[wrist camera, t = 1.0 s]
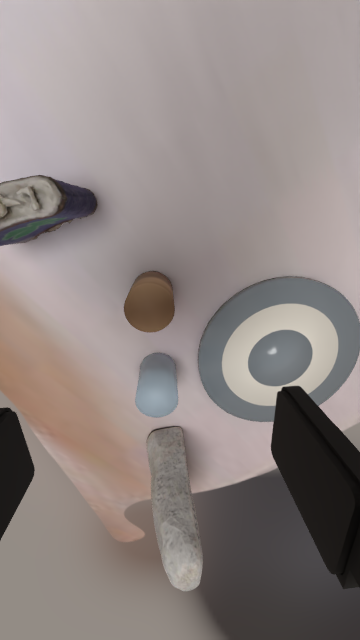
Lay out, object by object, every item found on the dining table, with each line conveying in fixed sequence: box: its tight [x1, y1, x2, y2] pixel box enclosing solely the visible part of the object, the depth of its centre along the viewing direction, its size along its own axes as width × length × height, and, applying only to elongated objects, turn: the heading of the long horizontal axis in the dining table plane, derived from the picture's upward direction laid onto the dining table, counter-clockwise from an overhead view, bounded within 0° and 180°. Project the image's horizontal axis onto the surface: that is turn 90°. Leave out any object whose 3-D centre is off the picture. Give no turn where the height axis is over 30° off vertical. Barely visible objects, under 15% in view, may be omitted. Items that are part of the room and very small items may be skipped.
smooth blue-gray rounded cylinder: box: [135, 353, 178, 417], centre depth 28 cm, size 4×4×6 cm
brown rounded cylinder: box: [124, 271, 175, 332], centre depth 24 cm, size 4×4×6 cm
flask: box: [0, 175, 97, 246], centre depth 19 cm, size 9×3×11 cm, turn 110°
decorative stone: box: [147, 427, 203, 591], centre depth 30 cm, size 11×6×15 cm, turn 7°
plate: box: [198, 277, 360, 422], centre depth 31 cm, size 20×20×1 cm
